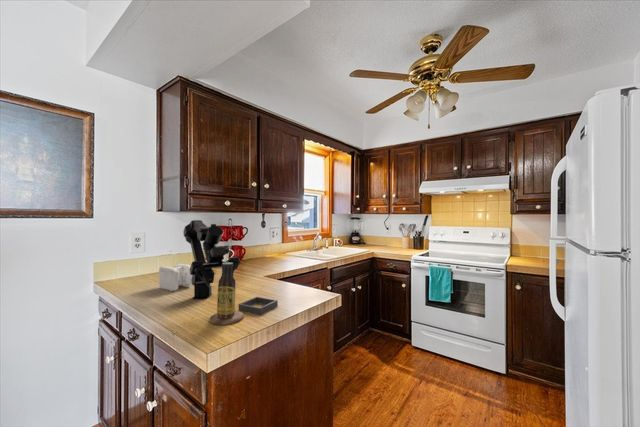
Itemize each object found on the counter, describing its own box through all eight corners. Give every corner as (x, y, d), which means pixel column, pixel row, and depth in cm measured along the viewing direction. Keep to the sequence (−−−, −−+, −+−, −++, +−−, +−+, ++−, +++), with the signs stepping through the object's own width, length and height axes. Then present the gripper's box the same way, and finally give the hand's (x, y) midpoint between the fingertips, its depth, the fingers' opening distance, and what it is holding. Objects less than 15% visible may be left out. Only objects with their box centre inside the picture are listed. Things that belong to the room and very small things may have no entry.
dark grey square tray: (238, 310, 111) (238, 304, 111) (256, 302, 120) (256, 296, 120) (260, 315, 106) (260, 308, 106) (277, 306, 115) (277, 300, 115)
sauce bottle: (214, 320, 99) (214, 264, 99) (220, 313, 105) (219, 261, 105) (233, 319, 99) (232, 264, 99) (237, 313, 105) (237, 261, 105)
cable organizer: (193, 287, 143) (193, 265, 143) (173, 293, 134) (173, 269, 134) (177, 283, 151) (177, 262, 151) (157, 288, 142) (157, 266, 142)
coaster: (204, 325, 96) (204, 323, 96) (216, 312, 108) (216, 310, 108) (238, 325, 96) (238, 323, 96) (247, 312, 108) (247, 310, 108)
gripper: (191, 240, 106) (199, 274, 97) (238, 237, 117) (249, 268, 109) (186, 258, 112) (193, 291, 104) (231, 253, 124) (241, 283, 115)
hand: (220, 283), depth 108 cm, fingers open, 9 cm apart
